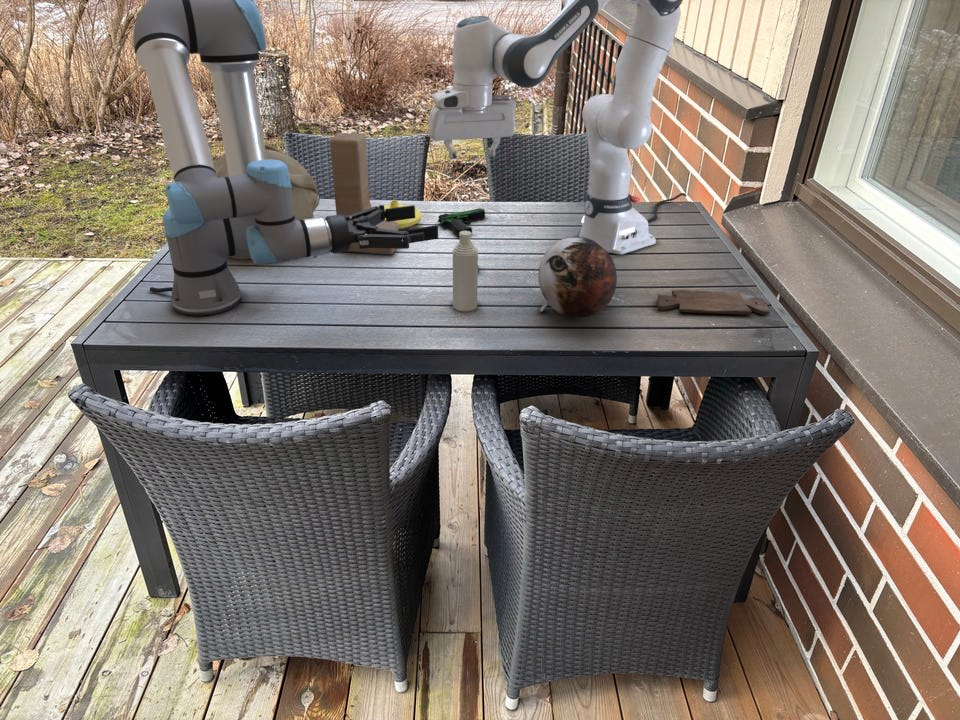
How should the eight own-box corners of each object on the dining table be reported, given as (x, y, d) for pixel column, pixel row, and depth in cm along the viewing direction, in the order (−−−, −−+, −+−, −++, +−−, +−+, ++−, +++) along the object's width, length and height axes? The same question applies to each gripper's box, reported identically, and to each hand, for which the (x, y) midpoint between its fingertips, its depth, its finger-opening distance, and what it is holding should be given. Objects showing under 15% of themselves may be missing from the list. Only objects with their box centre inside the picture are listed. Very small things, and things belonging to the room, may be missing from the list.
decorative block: (393, 255, 191) (387, 142, 176) (339, 251, 193) (328, 139, 178) (399, 245, 198) (394, 134, 183) (347, 241, 200) (337, 132, 184)
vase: (376, 214, 219) (375, 191, 216) (426, 217, 218) (426, 194, 214) (362, 232, 206) (360, 208, 202) (415, 235, 204) (415, 212, 201)
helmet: (337, 253, 194) (330, 140, 179) (228, 274, 179) (210, 153, 164) (298, 224, 213) (288, 120, 198) (196, 241, 198) (178, 130, 183)
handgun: (453, 229, 202) (431, 211, 213) (453, 239, 203) (431, 221, 214) (503, 222, 208) (480, 205, 219) (502, 231, 210) (479, 214, 221)
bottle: (476, 311, 164) (477, 237, 155) (452, 311, 164) (451, 237, 155) (477, 300, 169) (478, 228, 160) (453, 300, 169) (452, 227, 160)
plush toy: (515, 268, 172) (574, 208, 164) (568, 314, 177) (628, 258, 168) (511, 307, 153) (577, 241, 144) (571, 357, 157) (638, 296, 149)
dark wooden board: (652, 295, 173) (658, 314, 165) (653, 289, 172) (659, 307, 164) (760, 298, 172) (772, 317, 163) (761, 291, 171) (774, 310, 162)
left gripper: (314, 232, 156) (406, 219, 164) (345, 275, 137) (448, 258, 144) (310, 199, 152) (405, 187, 160) (342, 238, 133) (447, 223, 140)
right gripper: (511, 91, 167) (509, 151, 174) (426, 95, 162) (427, 156, 169) (520, 96, 162) (518, 158, 169) (432, 100, 157) (433, 163, 164)
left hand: (425, 221), depth 152 cm, fingers open, 13 cm apart
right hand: (472, 157), depth 169 cm, fingers open, 8 cm apart
